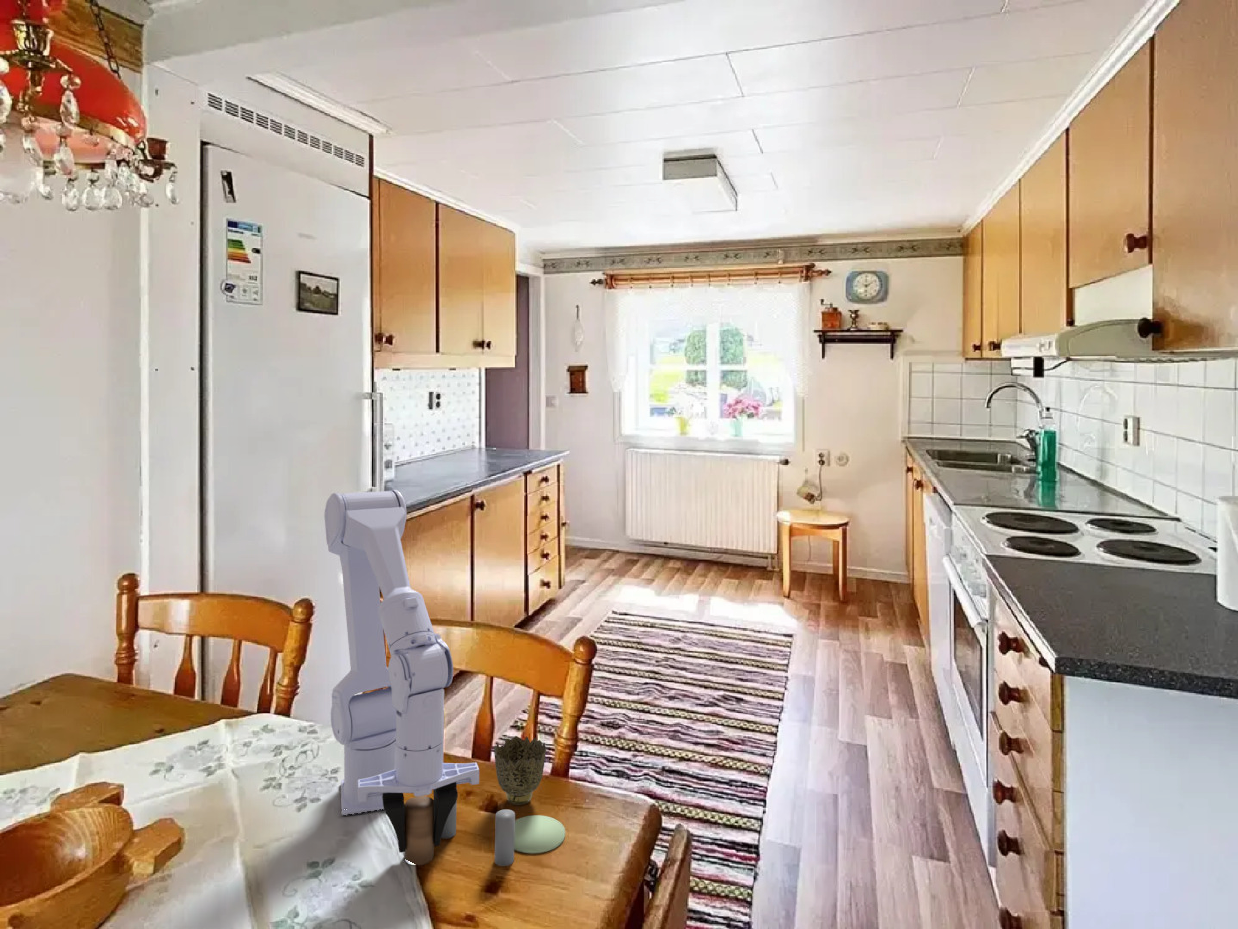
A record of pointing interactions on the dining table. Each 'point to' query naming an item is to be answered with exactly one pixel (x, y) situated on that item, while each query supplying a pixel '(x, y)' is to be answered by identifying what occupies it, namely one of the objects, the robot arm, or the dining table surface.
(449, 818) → the post
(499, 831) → the post
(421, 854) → the dowel
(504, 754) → the cup
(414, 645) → the robot arm
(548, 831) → the coaster
